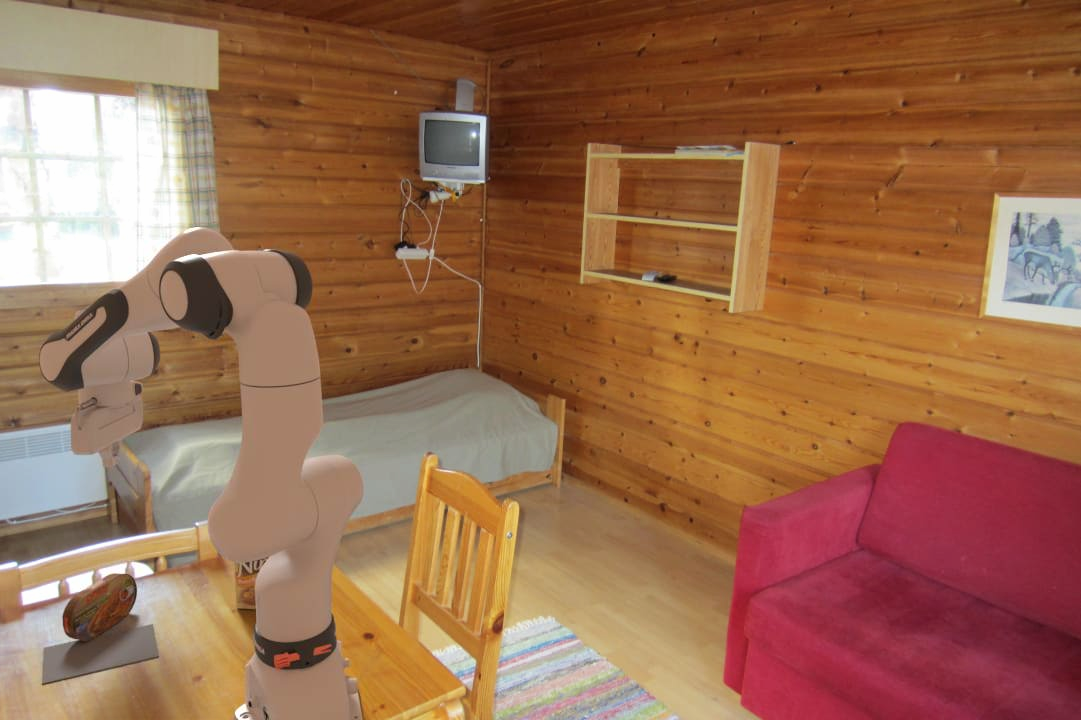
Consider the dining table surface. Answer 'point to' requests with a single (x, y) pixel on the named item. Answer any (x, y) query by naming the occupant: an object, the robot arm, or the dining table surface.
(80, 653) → the felt mat
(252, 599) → the candy box
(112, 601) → the tin
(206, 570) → the dining table surface
